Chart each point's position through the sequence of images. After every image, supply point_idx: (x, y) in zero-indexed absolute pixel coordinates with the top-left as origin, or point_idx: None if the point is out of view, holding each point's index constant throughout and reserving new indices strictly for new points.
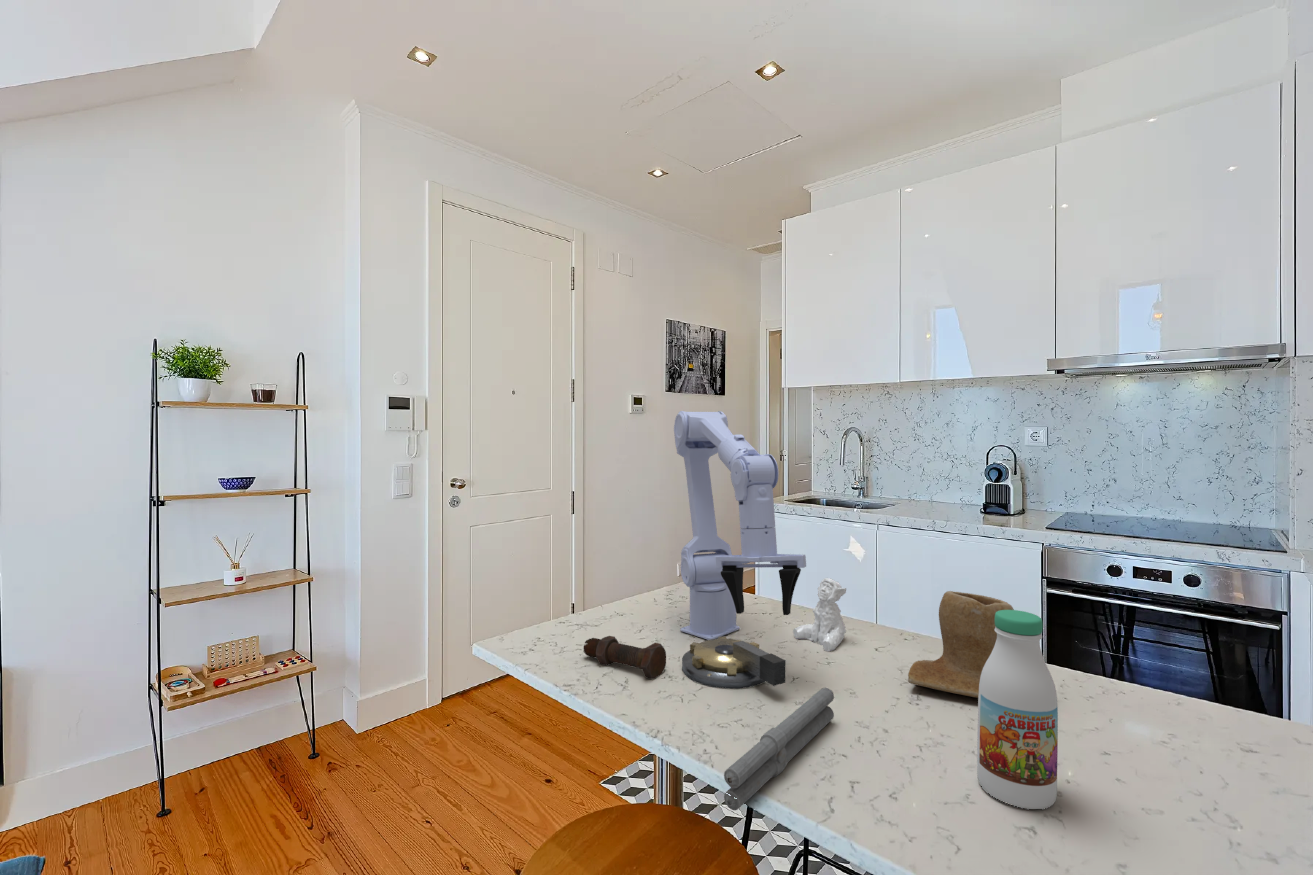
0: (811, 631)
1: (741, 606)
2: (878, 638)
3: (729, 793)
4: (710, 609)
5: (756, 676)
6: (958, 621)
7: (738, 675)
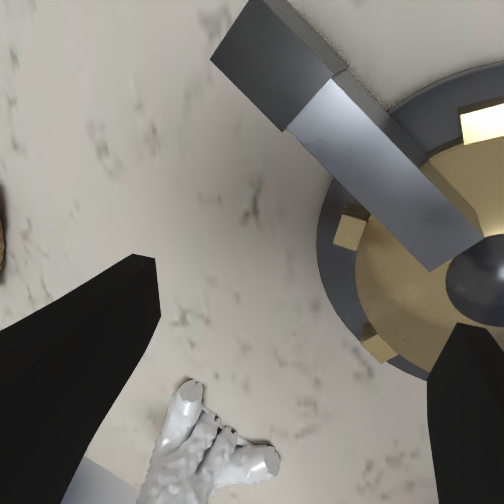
0: (229, 454)
1: (451, 383)
2: (115, 435)
3: None
4: None
5: None
6: None
7: (445, 119)
